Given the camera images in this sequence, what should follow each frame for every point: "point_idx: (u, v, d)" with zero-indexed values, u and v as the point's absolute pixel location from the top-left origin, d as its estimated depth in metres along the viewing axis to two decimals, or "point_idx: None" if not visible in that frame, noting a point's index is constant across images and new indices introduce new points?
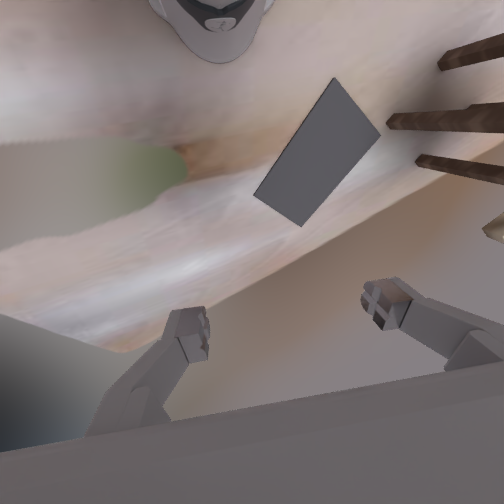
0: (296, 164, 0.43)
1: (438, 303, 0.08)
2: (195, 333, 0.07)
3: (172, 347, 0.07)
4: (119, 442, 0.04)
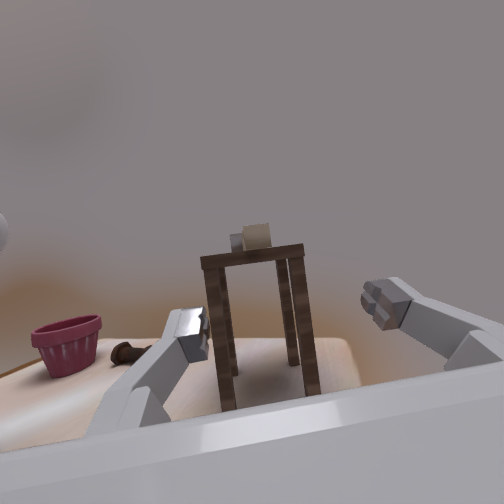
0: None
1: (438, 303, 0.08)
2: (195, 333, 0.07)
3: (172, 347, 0.07)
4: (119, 442, 0.04)
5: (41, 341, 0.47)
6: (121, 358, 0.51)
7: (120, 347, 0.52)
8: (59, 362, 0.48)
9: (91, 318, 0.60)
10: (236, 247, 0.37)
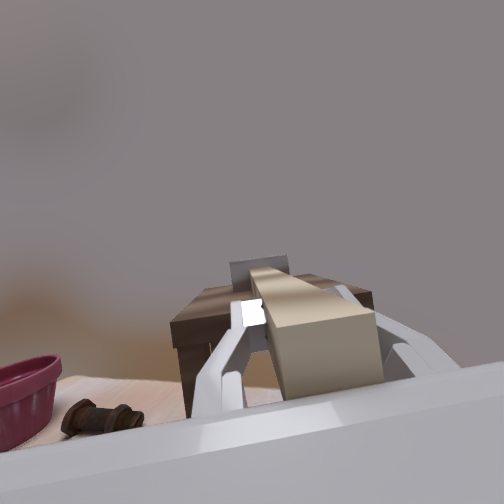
0: None
1: None
2: (263, 322, 0.08)
3: (244, 335, 0.07)
4: (119, 442, 0.04)
5: None
6: (77, 426, 0.37)
7: (76, 410, 0.38)
8: None
9: (49, 359, 0.46)
10: (240, 283, 0.23)
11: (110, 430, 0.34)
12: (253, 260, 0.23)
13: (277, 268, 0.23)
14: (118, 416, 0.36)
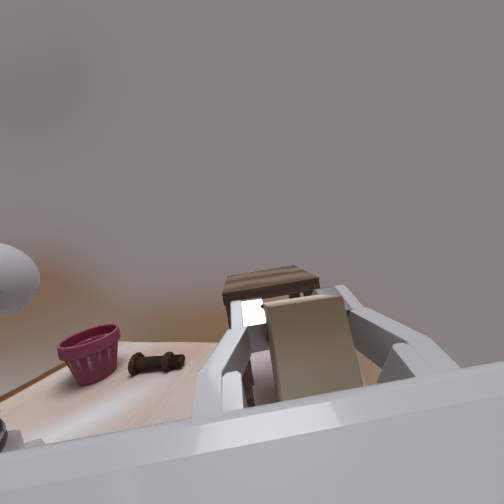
0: None
1: (374, 313, 0.07)
2: (264, 322, 0.08)
3: (244, 335, 0.07)
4: (119, 442, 0.04)
5: (68, 355, 0.50)
6: (138, 367, 0.54)
7: (136, 358, 0.55)
8: (86, 372, 0.52)
9: (109, 327, 0.63)
10: None
11: (166, 365, 0.53)
12: None
13: None
14: (169, 357, 0.54)
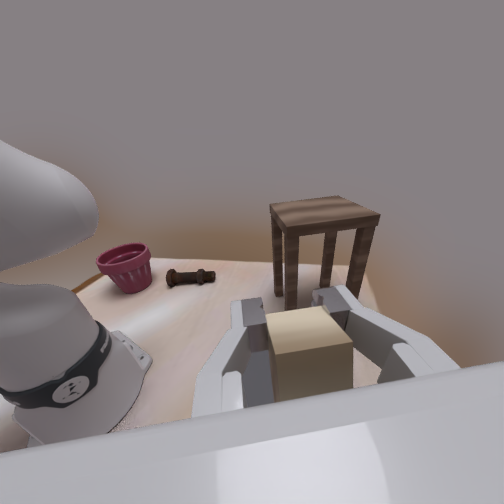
0: None
1: (373, 313, 0.07)
2: (264, 322, 0.08)
3: (244, 335, 0.07)
4: (119, 442, 0.04)
5: (111, 271, 0.54)
6: (175, 281, 0.61)
7: (171, 274, 0.61)
8: (130, 284, 0.58)
9: (136, 246, 0.65)
10: None
11: (201, 279, 0.60)
12: None
13: None
14: (202, 273, 0.61)
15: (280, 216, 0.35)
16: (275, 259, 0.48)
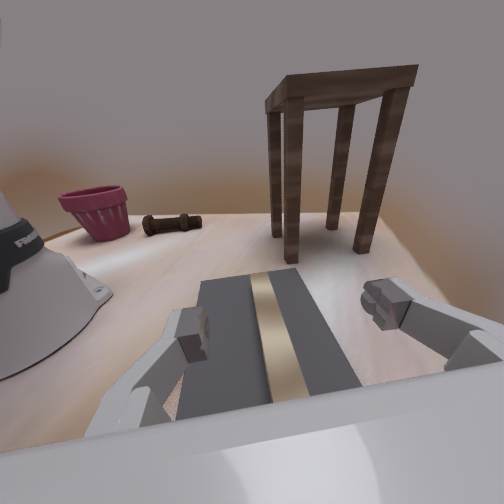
0: (225, 369, 0.19)
1: (438, 303, 0.08)
2: (195, 333, 0.07)
3: (172, 347, 0.07)
4: (119, 442, 0.04)
5: (75, 205, 0.44)
6: (154, 228, 0.52)
7: (149, 219, 0.51)
8: (100, 227, 0.49)
9: (111, 189, 0.56)
10: None
11: (185, 223, 0.52)
12: None
13: None
14: (186, 217, 0.52)
15: None
16: (272, 182, 0.39)
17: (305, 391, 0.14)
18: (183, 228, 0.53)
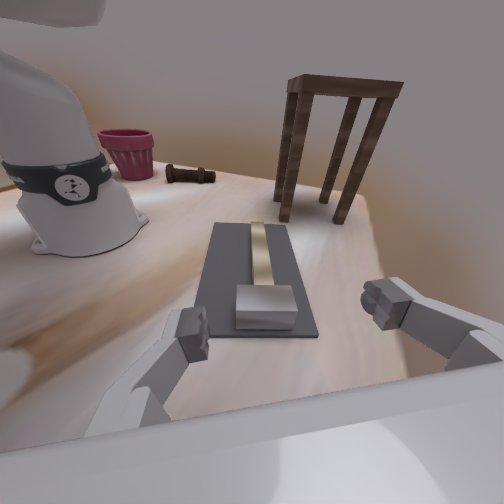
0: (227, 270, 0.31)
1: (438, 303, 0.08)
2: (195, 333, 0.07)
3: (172, 347, 0.07)
4: (119, 442, 0.04)
5: (113, 144, 0.52)
6: (175, 176, 0.60)
7: (171, 167, 0.59)
8: (131, 167, 0.58)
9: (140, 133, 0.62)
10: None
11: (202, 177, 0.61)
12: None
13: None
14: (203, 171, 0.61)
15: None
16: (281, 153, 0.47)
17: (271, 276, 0.26)
18: (199, 180, 0.62)
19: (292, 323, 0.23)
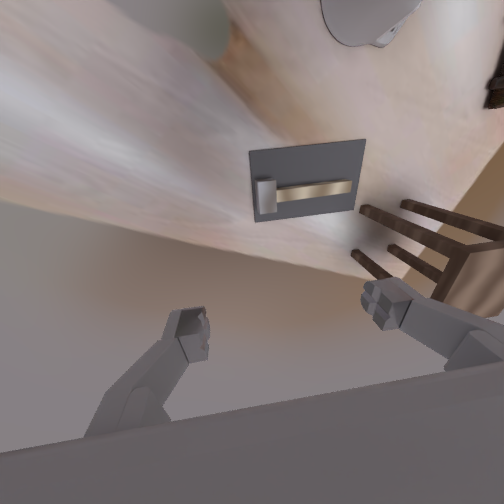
0: (299, 166, 0.43)
1: (438, 303, 0.08)
2: (195, 333, 0.07)
3: (172, 347, 0.07)
4: (119, 442, 0.04)
5: None
6: None
7: None
8: None
9: None
10: None
11: (497, 86, 0.39)
12: None
13: None
14: None
15: (501, 250, 0.28)
16: (449, 215, 0.40)
17: (283, 200, 0.43)
18: (493, 81, 0.39)
19: (257, 210, 0.45)
